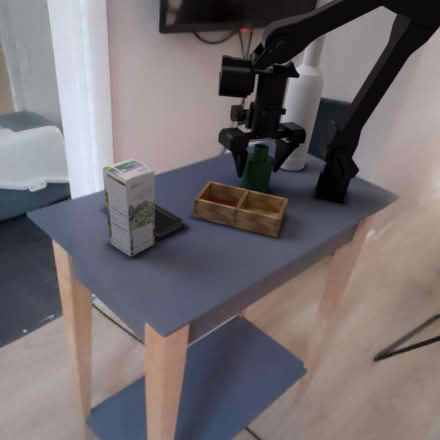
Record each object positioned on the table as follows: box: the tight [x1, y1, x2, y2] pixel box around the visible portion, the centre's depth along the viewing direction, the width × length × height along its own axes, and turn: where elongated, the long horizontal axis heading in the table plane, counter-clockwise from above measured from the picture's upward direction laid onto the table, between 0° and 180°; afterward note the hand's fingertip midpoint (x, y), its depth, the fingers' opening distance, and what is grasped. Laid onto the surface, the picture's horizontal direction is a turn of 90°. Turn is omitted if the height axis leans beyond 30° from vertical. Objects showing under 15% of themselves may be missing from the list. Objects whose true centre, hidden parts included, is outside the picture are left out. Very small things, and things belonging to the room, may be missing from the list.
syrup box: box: [102, 158, 156, 258], centre depth 65 cm, size 6×6×14 cm
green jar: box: [241, 143, 274, 194], centre depth 87 cm, size 6×6×10 cm
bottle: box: [279, 33, 327, 172], centre depth 92 cm, size 8×8×30 cm
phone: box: [155, 203, 184, 241], centre depth 76 cm, size 8×1×15 cm
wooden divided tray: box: [193, 180, 289, 238], centre depth 79 cm, size 17×9×4 cm, turn 73°
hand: (257, 174), depth 87 cm, fingers open, 9 cm apart
